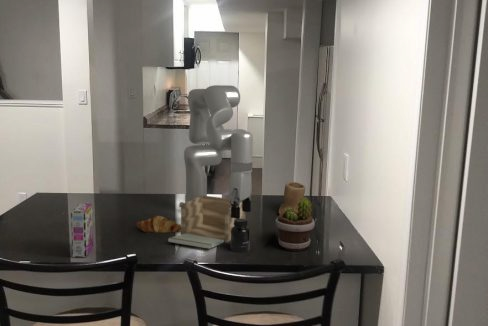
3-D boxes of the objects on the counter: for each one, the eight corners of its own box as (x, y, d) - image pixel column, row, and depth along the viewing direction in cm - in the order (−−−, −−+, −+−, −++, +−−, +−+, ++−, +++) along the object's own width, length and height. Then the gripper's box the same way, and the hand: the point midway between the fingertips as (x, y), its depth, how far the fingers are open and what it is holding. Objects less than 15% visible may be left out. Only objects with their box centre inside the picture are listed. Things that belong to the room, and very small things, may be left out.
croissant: (187, 240, 191) (190, 221, 193) (179, 236, 182) (183, 216, 184) (139, 234, 196) (143, 215, 198) (129, 230, 186) (133, 210, 189)
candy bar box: (87, 257, 161) (85, 211, 158) (72, 258, 161) (69, 211, 158) (94, 246, 172) (92, 203, 169) (80, 246, 172) (78, 203, 169)
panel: (184, 233, 183) (168, 237, 172) (223, 239, 176) (209, 244, 165) (184, 236, 183) (168, 241, 172) (223, 243, 176) (209, 248, 165)
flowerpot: (274, 253, 169) (276, 199, 165) (274, 239, 184) (275, 189, 180) (315, 254, 168) (318, 200, 164) (311, 240, 183) (313, 190, 180)
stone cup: (303, 219, 211) (304, 186, 208) (276, 217, 213) (277, 185, 211) (305, 210, 225) (306, 179, 223) (280, 208, 228) (281, 178, 225)
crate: (201, 225, 199) (201, 195, 197) (245, 232, 191) (245, 200, 189) (181, 237, 184) (181, 204, 181) (227, 245, 176) (228, 211, 174)
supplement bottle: (247, 256, 165) (248, 223, 163) (228, 254, 167) (228, 222, 164) (251, 249, 172) (251, 218, 170) (232, 248, 173) (233, 216, 171)
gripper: (241, 162, 173) (241, 208, 176) (221, 170, 157) (220, 219, 160) (260, 164, 170) (259, 210, 173) (241, 171, 154) (241, 222, 157)
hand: (241, 214), depth 166 cm, fingers open, 9 cm apart
